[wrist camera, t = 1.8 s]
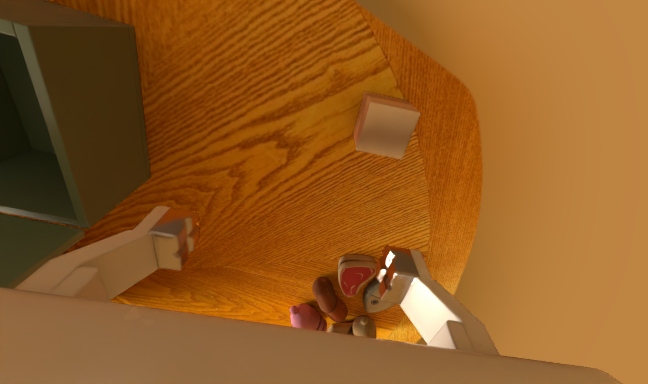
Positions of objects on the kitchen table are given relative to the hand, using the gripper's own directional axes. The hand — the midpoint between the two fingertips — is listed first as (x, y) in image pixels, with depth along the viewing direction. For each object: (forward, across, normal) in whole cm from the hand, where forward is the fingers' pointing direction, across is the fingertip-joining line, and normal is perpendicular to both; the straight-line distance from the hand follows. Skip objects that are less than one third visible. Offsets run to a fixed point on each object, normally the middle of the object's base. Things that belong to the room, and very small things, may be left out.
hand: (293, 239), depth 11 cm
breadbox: (+18, +24, +3) cm, 30 cm away
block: (+18, -6, -2) cm, 19 cm away
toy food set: (+18, -10, +29) cm, 36 cm away
